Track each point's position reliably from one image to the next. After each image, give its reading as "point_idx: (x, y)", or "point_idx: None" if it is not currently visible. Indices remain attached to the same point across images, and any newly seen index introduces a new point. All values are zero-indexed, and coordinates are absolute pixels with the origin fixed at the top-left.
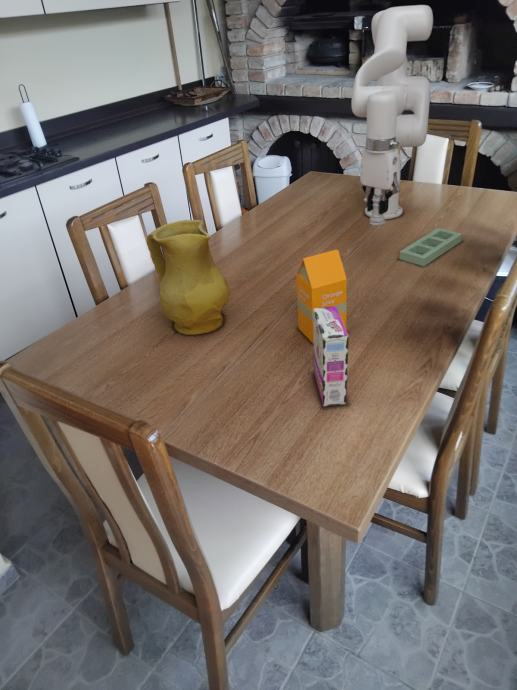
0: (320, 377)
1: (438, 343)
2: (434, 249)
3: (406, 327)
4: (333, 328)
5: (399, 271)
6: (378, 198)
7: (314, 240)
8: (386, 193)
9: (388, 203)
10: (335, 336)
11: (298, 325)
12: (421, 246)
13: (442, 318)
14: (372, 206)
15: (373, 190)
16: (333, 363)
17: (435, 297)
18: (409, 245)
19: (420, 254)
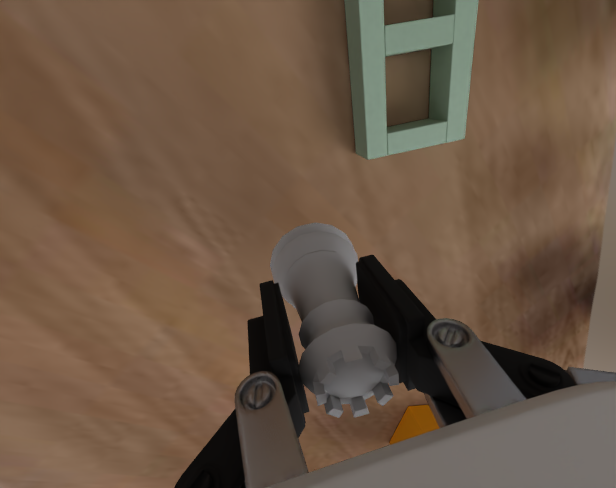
0: None
1: (570, 324)
2: (464, 38)
3: (517, 335)
4: None
5: (404, 212)
6: (382, 390)
7: (12, 282)
8: (446, 373)
9: (421, 303)
10: None
11: None
12: (406, 51)
13: (560, 278)
14: (289, 327)
15: (284, 423)
16: None
17: (529, 237)
18: (364, 86)
19: (440, 123)
